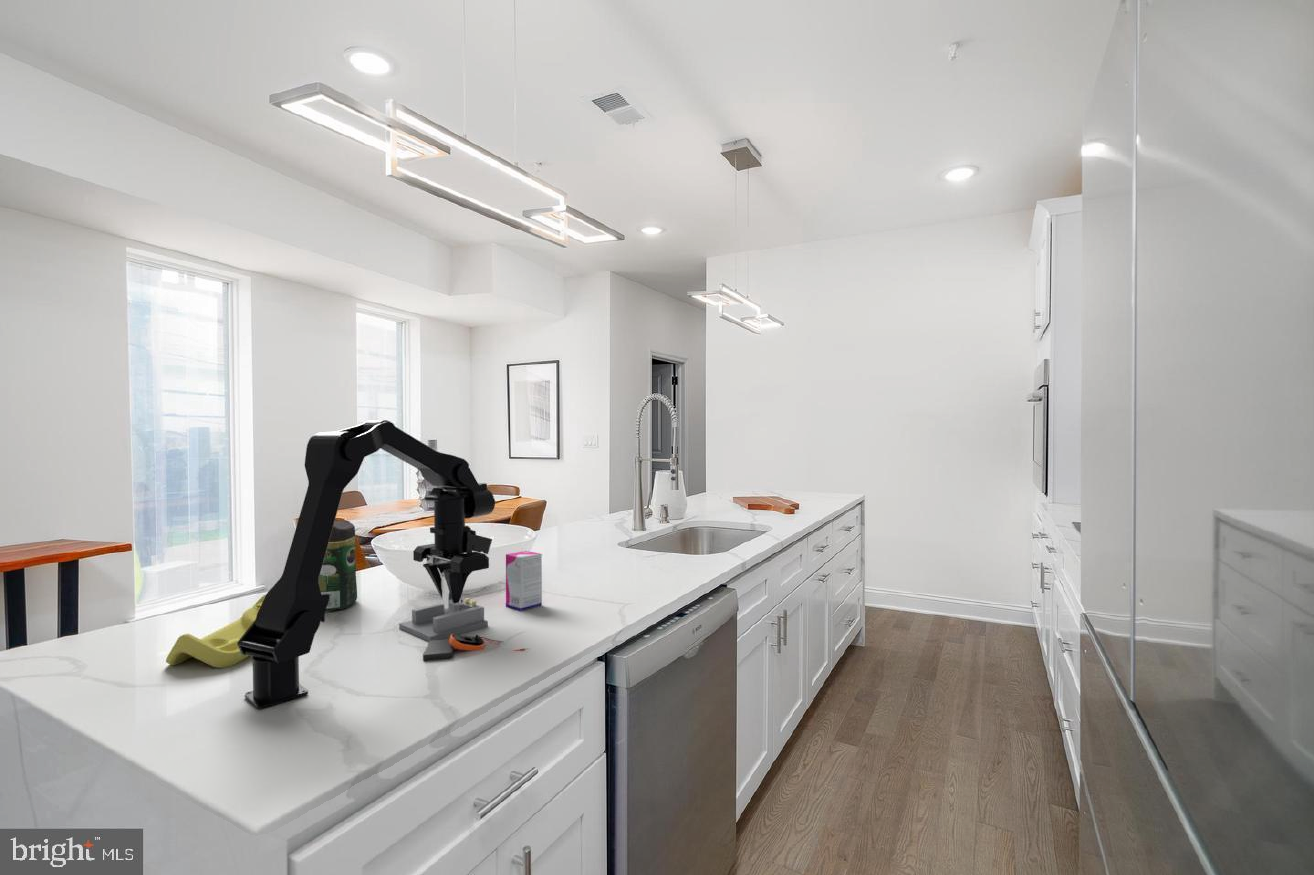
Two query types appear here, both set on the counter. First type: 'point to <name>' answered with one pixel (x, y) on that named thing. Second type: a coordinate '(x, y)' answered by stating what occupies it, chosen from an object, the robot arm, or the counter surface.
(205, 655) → the plastic component
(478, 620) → the header socket
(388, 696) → the counter surface
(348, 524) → the coffee jar
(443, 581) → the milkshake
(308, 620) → the robot arm
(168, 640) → the counter surface
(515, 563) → the supplement box
